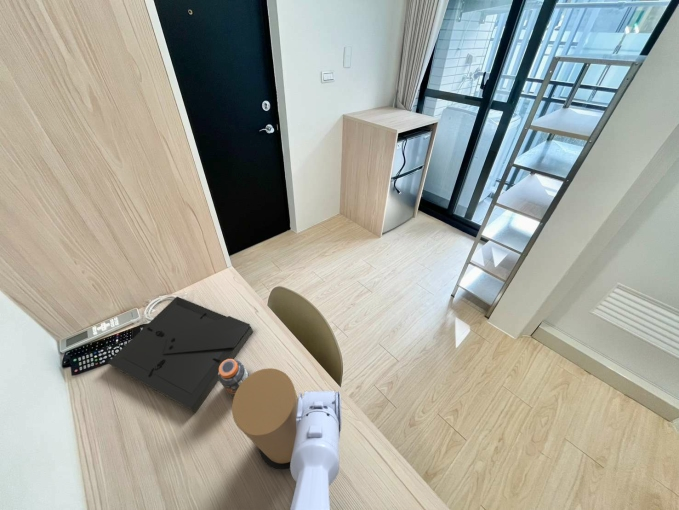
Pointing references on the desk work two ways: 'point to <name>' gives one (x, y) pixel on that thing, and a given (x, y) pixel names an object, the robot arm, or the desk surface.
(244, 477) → the desk surface
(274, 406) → the tan pedal trash can
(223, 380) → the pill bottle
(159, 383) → the picture frame
